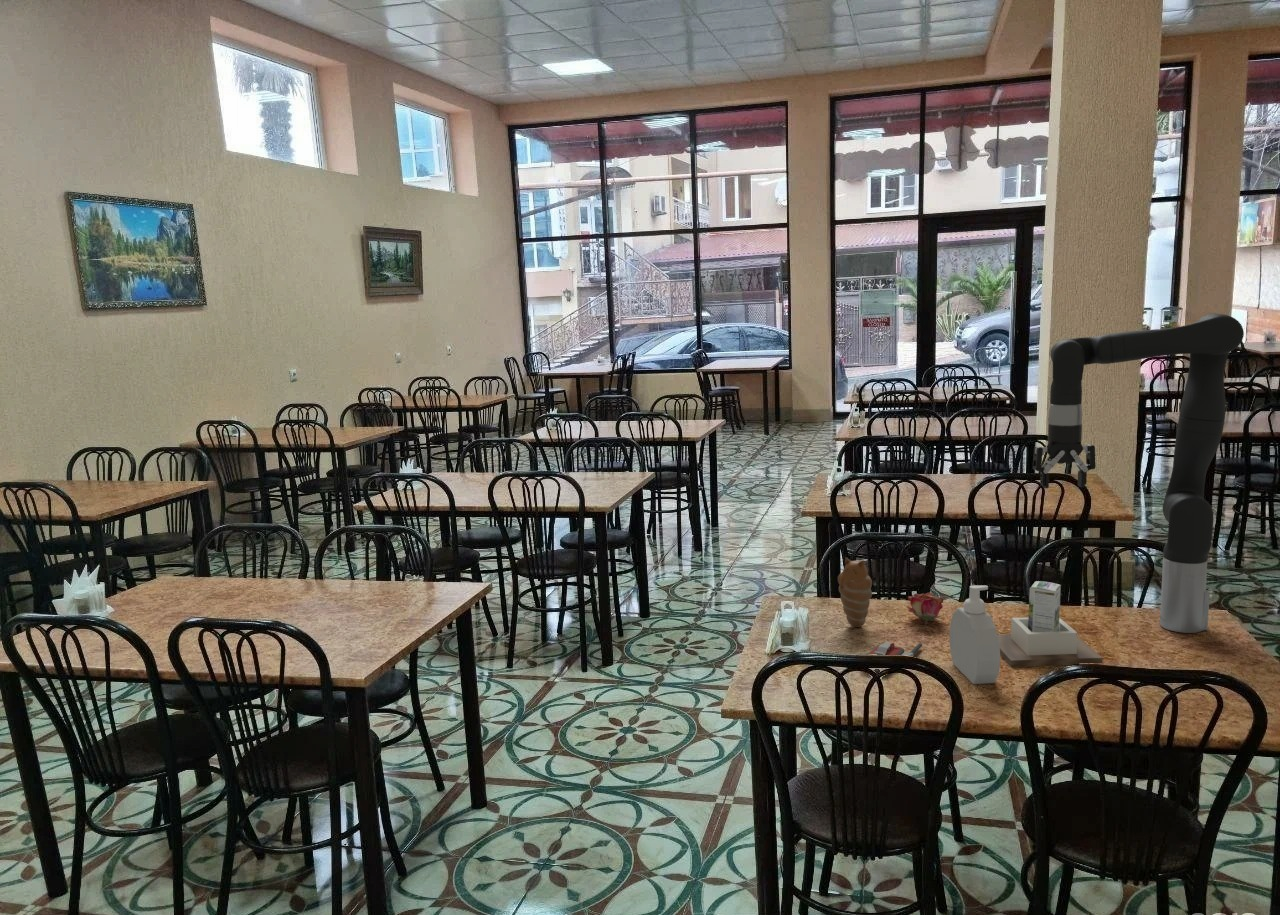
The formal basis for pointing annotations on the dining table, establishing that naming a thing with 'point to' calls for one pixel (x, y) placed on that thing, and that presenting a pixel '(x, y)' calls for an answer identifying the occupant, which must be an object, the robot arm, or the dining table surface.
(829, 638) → the dining table surface
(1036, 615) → the syrup box
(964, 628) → the soap bottle
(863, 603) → the cat ice cream
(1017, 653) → the walnut stand
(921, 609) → the flower
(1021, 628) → the white open square box
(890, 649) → the walkie-talkie
